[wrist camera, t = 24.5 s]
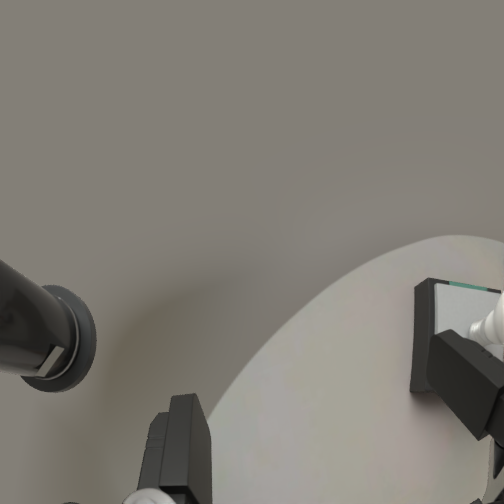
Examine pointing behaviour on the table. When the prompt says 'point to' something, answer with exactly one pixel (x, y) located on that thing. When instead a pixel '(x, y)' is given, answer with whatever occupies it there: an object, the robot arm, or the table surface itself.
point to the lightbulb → (490, 326)
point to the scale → (447, 319)
